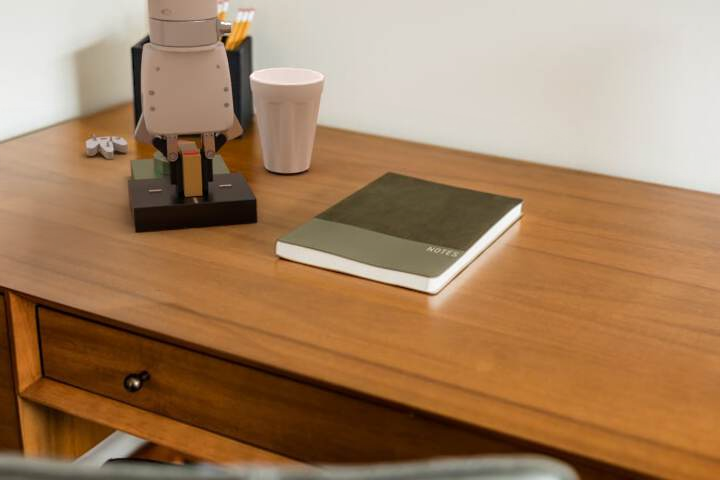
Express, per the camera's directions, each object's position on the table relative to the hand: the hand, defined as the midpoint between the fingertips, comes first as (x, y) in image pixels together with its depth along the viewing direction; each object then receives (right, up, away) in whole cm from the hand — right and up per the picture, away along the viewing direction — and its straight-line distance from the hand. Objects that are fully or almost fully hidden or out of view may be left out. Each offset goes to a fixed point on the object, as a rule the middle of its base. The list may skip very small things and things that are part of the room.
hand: (191, 187), depth 107 cm
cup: (+10, +3, +18) cm, 21 cm away
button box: (-4, +1, +11) cm, 11 cm away
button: (-3, +5, +9) cm, 11 cm away
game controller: (-17, +7, +24) cm, 31 cm away
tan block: (0, 0, 0) cm, 0 cm away
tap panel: (0, -3, +1) cm, 3 cm away
